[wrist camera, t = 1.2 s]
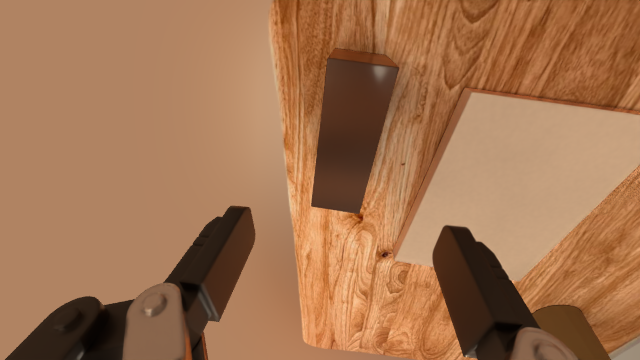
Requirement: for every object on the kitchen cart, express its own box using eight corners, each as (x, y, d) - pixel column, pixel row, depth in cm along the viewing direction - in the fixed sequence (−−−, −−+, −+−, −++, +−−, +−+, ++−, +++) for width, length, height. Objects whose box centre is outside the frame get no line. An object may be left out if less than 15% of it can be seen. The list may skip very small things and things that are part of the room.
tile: (463, 87, 18) (471, 91, 17) (662, 114, 18) (685, 121, 17) (392, 251, 30) (394, 261, 28) (512, 270, 29) (519, 281, 28)
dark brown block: (334, 47, 18) (327, 57, 13) (386, 54, 18) (399, 67, 13) (319, 168, 24) (310, 206, 19) (358, 174, 24) (359, 214, 19)
